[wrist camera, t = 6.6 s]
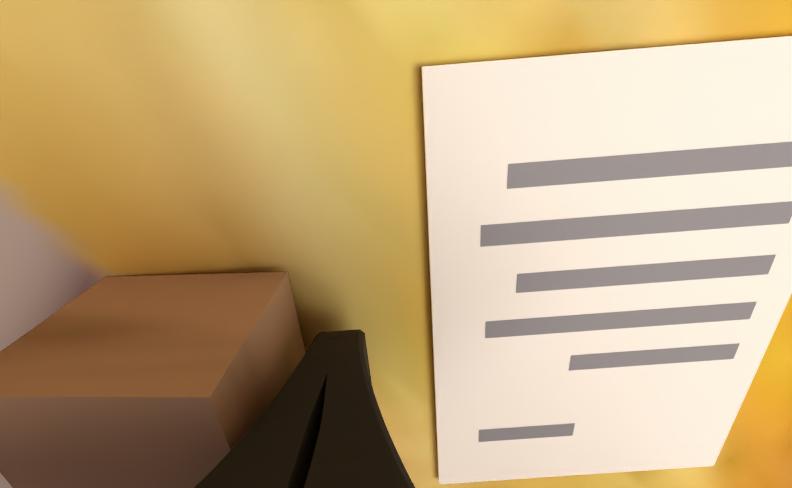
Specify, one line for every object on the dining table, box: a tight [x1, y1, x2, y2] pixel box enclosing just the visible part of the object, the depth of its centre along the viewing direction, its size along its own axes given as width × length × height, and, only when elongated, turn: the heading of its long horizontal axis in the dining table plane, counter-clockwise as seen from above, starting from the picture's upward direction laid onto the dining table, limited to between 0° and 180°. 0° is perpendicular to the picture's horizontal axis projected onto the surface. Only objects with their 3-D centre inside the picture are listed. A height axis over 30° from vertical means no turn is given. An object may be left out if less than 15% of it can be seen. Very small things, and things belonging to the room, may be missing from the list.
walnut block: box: [0, 272, 306, 488], centre depth 9 cm, size 5×5×4 cm
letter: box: [421, 36, 792, 484], centre depth 11 cm, size 14×10×1 cm
